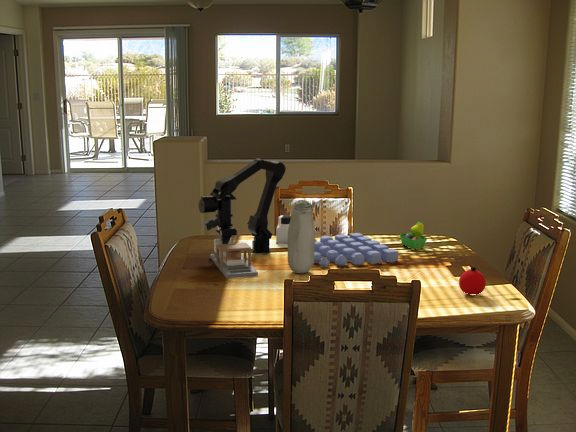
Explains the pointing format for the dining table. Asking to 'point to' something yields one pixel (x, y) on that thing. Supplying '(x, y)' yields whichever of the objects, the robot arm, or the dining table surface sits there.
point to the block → (233, 255)
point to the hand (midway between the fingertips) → (224, 247)
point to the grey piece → (235, 270)
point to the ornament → (472, 281)
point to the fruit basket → (414, 237)
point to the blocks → (351, 250)
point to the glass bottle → (301, 238)
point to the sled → (227, 262)
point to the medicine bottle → (282, 229)
